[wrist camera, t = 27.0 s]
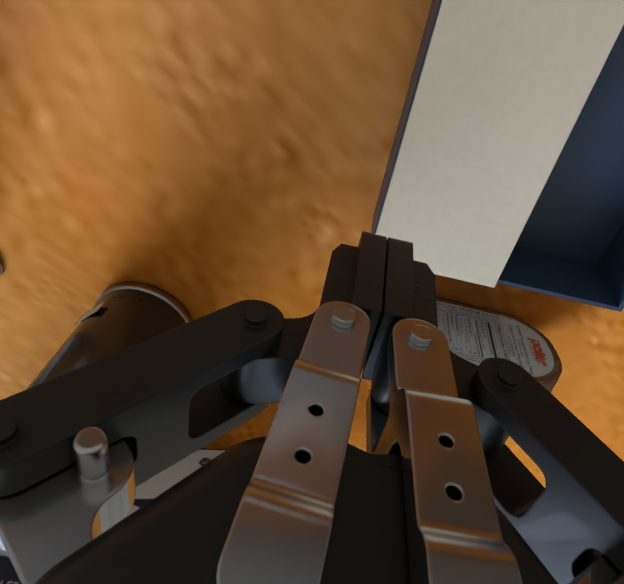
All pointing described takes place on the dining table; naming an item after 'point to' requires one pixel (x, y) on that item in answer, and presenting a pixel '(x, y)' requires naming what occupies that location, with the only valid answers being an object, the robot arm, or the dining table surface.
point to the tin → (498, 340)
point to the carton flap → (492, 125)
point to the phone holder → (1, 269)
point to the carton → (565, 197)
